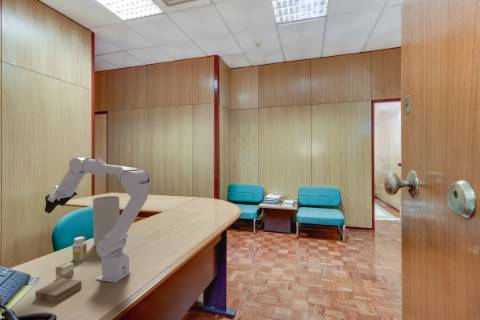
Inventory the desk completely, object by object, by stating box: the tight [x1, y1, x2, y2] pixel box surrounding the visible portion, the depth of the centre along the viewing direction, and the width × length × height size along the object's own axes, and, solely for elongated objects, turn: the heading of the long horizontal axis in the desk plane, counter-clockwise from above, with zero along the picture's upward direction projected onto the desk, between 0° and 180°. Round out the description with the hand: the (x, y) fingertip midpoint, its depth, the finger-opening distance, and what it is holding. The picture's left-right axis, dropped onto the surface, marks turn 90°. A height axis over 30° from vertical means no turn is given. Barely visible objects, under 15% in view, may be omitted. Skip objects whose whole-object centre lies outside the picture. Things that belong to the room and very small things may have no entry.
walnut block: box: [34, 278, 83, 304], centre depth 81 cm, size 9×9×3 cm
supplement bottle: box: [71, 236, 88, 262], centre depth 109 cm, size 5×5×10 cm
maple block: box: [55, 261, 75, 281], centre depth 92 cm, size 4×4×5 cm
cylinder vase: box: [92, 195, 121, 247], centre depth 128 cm, size 12×12×25 cm
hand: (54, 208), depth 97 cm, fingers open, 7 cm apart
